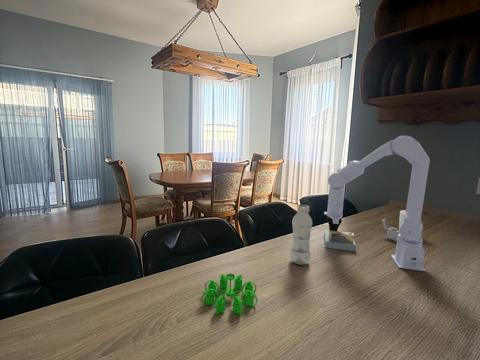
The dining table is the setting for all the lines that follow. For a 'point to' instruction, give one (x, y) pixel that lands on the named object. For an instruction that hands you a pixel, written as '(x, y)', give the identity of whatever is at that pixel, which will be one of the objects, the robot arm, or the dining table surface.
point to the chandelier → (229, 293)
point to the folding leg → (348, 234)
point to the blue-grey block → (338, 242)
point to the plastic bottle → (301, 236)
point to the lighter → (390, 231)
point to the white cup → (401, 217)
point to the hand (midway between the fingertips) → (332, 235)
